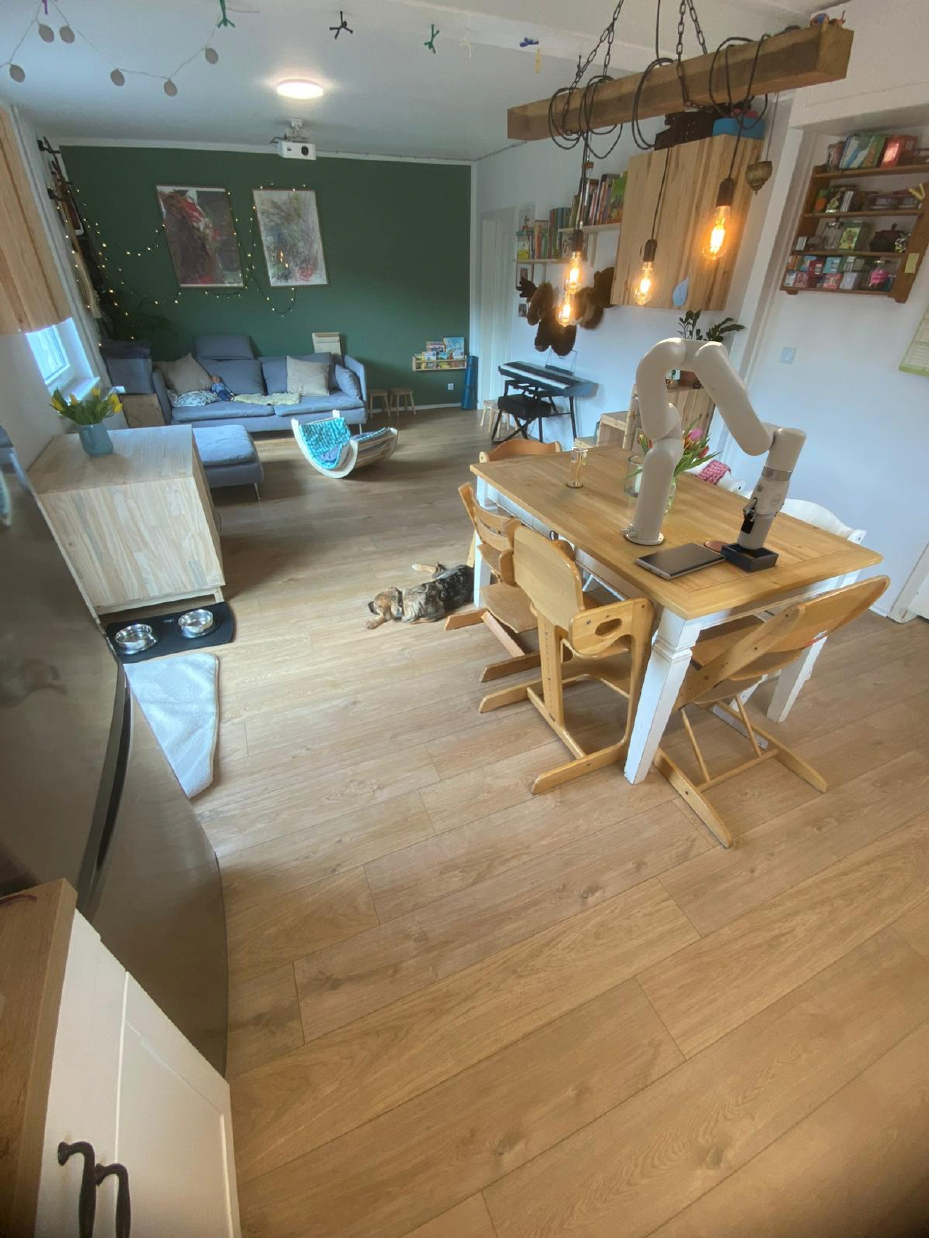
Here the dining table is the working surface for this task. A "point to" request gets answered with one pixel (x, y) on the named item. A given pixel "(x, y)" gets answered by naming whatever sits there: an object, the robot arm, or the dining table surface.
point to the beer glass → (577, 466)
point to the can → (756, 532)
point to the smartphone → (679, 560)
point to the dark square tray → (761, 560)
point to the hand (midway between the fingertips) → (754, 530)
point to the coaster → (715, 545)
